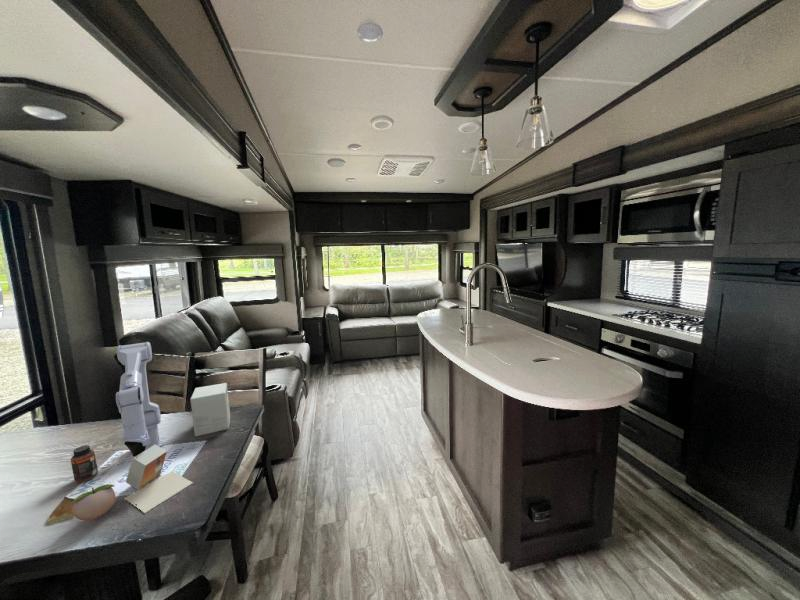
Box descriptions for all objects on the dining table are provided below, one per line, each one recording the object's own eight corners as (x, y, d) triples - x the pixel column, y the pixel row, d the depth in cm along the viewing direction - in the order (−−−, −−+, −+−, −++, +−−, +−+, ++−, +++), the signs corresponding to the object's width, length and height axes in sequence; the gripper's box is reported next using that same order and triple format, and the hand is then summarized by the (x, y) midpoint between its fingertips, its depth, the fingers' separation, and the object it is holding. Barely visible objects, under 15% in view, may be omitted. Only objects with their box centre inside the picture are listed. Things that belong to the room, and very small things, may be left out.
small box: (138, 490, 103) (145, 466, 101) (125, 482, 104) (131, 457, 102) (161, 474, 111) (167, 451, 109) (148, 466, 111) (155, 443, 109)
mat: (124, 499, 99) (124, 498, 99) (172, 472, 112) (171, 471, 112) (144, 513, 94) (144, 512, 94) (193, 483, 106) (192, 482, 106)
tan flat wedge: (65, 500, 100) (64, 495, 100) (96, 492, 103) (95, 487, 103) (45, 526, 90) (44, 521, 90) (80, 516, 94) (79, 511, 93)
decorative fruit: (81, 536, 86) (75, 504, 85) (71, 524, 90) (65, 493, 89) (124, 511, 94) (119, 482, 93) (112, 501, 98) (108, 473, 97)
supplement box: (231, 415, 151) (227, 382, 149) (229, 429, 139) (225, 392, 137) (199, 422, 146) (194, 387, 143) (194, 437, 134) (189, 399, 131)
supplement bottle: (102, 473, 112) (97, 444, 110) (81, 485, 106) (75, 455, 105) (92, 470, 114) (87, 441, 112) (70, 481, 108) (65, 451, 106)
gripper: (108, 422, 104) (114, 459, 106) (129, 433, 98) (136, 472, 100) (134, 413, 110) (139, 448, 112) (155, 422, 104) (160, 459, 106)
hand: (139, 458), depth 106 cm, fingers closed
